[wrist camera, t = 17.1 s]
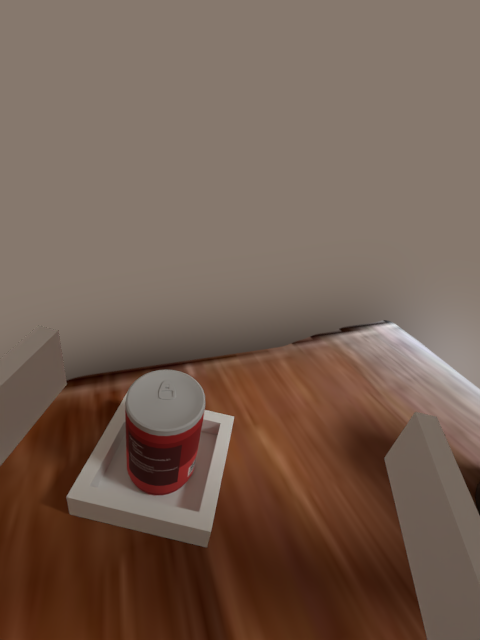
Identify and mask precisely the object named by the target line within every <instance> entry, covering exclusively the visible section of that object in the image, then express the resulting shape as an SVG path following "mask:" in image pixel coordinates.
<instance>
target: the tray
mask: <svg viewBox="0 0 480 640" xmlns="http://www.w3.org/2000/svg"><path fill="white" fill-rule="evenodd" d="M126 396H127V394H126V395H125V397H124V399H123V401H122V402H121V404H120V406H119V407H118V409H117V411H116V413H115V414H114V416H113V418H112V419H111V421H110V423H109V425H108V426H107V428H106V430H105V431H104V433H103V435H102V437H101V438H100V440H99V442H98V443H97V445H96V447H95V449H94V450H93V452H92V454H91V455H90V457H89V459H88V461H87V462H86V464H85V466H84V467H83V469H82V471H81V473H80V474H79V476H78V478H77V479H76V481H75V483H74V485H73V486H72V488H71V490H70V491H69V493H68V495H67V497H66V499H67V504H68V509H69V514H70V515H74V516H78V517H83V518H87V519H91V520H95V521H99V522H103V523H107V524H111V525H116V526H120V527H124V528H128V529H132V530H136V531H140V532H144V533H149V534H153V535H157V536H161V537H165V538H169V539H173V540H177V541H182V542H186V543H190V544H194V545H198V546H202V547H206V548H207V546H208V542H209V538H210V534H211V530H212V525H213V520H214V515H215V510H216V505H217V500H218V495H219V490H220V485H221V480H222V475H223V470H224V465H225V460H226V455H227V450H228V445H229V441H230V436H231V431H232V426H233V421H234V417H233V416H229V415H225V414H221V413H216V412H212V411H208V410H204V417H203V423H202V429H201V435H200V440H199V446H198V452H197V457H196V463H195V468H194V471H193V473H192V475H191V476H190V478H189V479H188V481H187V482H186V483H185V484H184V485H183V486H182V487H181V488H180V489H178V490H177V491H175V492H173V493H170V494H166V495H151V494H147V493H145V492H143V491H141V490H140V489H139V488H137V486H136V485H135V484H134V483H133V482H132V480H131V478H130V476H129V474H128V471H127V457H126V421H125V402H126Z"/></svg>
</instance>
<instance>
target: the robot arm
mask: <svg viewBox="0 0 480 640" xmlns="http://www.w3.org/2000/svg"><path fill="white" fill-rule="evenodd" d="M66 385H67V383H66V377H65V370H64V364H63V357H62V350H61V344H60V337H59V331H58V330H54V329H51V328H46V327H42V326H37V327H36V328H35V329H34V330H33V331H32V332H30V333H29V334H28V335H27V336H26V337H25V338H24V339H22V340H21V341H20V342H19V343H18V344H17V345H16V346H14V347H13V348H12V349H11V350H10V351H9V352H7V353H6V354H5V355H4V356H3V357H2V358H1V359H0V466H1V465H2V463H3V462H4V461H5V460H6V458H7V457H8V456H9V455H10V454H11V452H12V451H13V450H14V449H15V447H16V446H17V445H18V444H19V442H20V441H21V440H22V439H23V438H24V436H25V435H26V434H27V433H28V431H29V430H30V429H31V428H32V426H33V425H34V424H35V423H36V422H37V420H38V419H39V418H40V417H41V415H42V414H43V413H44V412H45V410H46V409H47V408H48V407H49V406H50V404H51V403H52V402H53V401H54V399H55V398H56V397H57V396H58V394H59V393H60V392H61V391H62V390H63V388H64V387H65V386H66ZM384 460H385V464H386V468H387V472H388V477H389V481H390V485H391V489H392V493H393V498H394V502H395V506H396V510H397V514H398V519H399V523H400V527H401V531H402V535H403V540H404V544H405V548H406V552H407V556H408V561H409V565H410V569H411V573H412V577H413V582H414V586H415V590H416V594H417V598H418V603H419V607H420V611H421V615H422V619H423V624H424V628H425V632H426V636H427V640H480V515H479V514H480V482H479V484H478V486H477V489H476V504H477V508H478V511H479V513H478V511H477V508H476V506H475V504H474V502H473V499H472V497H471V495H470V492H469V490H468V488H467V485H466V483H465V481H464V479H463V476H462V474H461V472H460V469H459V467H458V465H457V462H456V460H455V458H454V455H453V453H452V451H451V449H450V446H449V444H448V442H447V439H446V437H445V435H444V432H443V430H442V428H441V426H440V423H439V421H438V419H437V417H436V416H431V415H427V414H422V413H418V412H415V413H414V414H413V416H412V417H411V419H410V420H409V422H408V423H407V425H406V426H405V428H404V429H403V431H402V432H401V434H400V435H399V437H398V438H397V440H396V441H395V443H394V444H393V446H392V447H391V449H390V450H389V452H388V453H387V455H386V456H385V458H384Z"/></svg>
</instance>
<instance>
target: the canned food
mask: <svg viewBox="0 0 480 640" xmlns="http://www.w3.org/2000/svg"><path fill="white" fill-rule="evenodd" d="M204 410H205V395H204V391H203V389H202V387H201V386H200V384H199V383H198V382H197V381H196V380H195V379H194V378H192V377H191V376H189V375H187V374H185V373H182V372H179V371H175V370H157V371H153V372H150V373H147V374H145V375H143V376H141V377H140V378H138V379H137V380H136V381H135V382H134V383H133V384H132V385H131V387H130V388H129V390H128V392H127V396H126V402H125V421H126V457H127V471H128V474H129V476H130V478H131V480H132V482H133V483H134V484H135V485H136V486H137V488H139V489H140V490H141V491H143V492H145V493H147V494H151V495H166V494H170V493H173V492H175V491H177V490H178V489H180V488H181V487H182V486H183V485H184V484H185V483H186V482H187V481H188V479H189V478H190V476H191V475H192V473H193V471H194V468H195V463H196V457H197V452H198V446H199V440H200V435H201V429H202V423H203V417H204Z"/></svg>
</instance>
